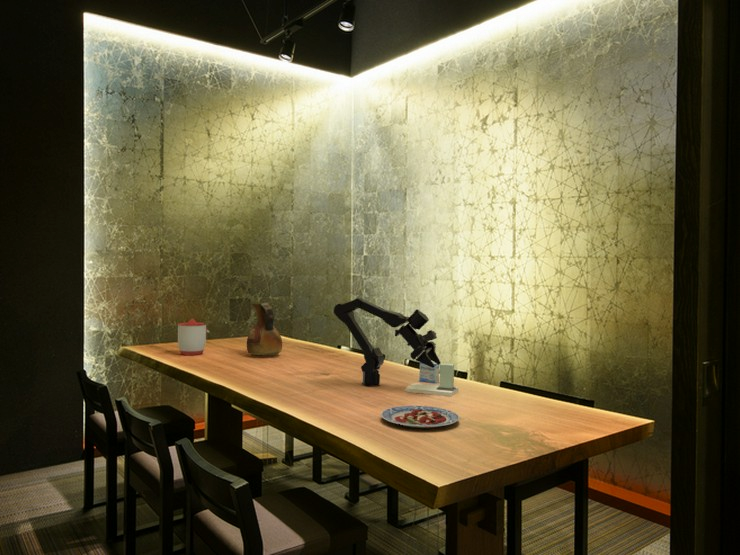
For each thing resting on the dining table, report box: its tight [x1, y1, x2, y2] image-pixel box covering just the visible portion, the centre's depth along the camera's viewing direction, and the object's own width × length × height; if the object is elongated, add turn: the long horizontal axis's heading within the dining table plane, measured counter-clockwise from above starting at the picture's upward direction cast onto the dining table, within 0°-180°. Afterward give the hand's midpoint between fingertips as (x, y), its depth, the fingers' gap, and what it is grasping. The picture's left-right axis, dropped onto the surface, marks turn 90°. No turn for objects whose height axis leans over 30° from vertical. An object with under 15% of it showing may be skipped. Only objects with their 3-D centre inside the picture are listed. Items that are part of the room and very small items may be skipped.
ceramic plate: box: [380, 405, 460, 429], centre depth 191 cm, size 26×26×3 cm
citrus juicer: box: [177, 318, 210, 356], centre depth 323 cm, size 16×17×20 cm
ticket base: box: [405, 382, 459, 397], centre depth 238 cm, size 19×12×2 cm, turn 68°
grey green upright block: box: [439, 362, 455, 389], centre depth 235 cm, size 5×4×10 cm
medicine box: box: [418, 361, 440, 384], centre depth 258 cm, size 8×4×9 cm, turn 62°
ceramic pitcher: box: [246, 302, 283, 356], centre depth 322 cm, size 20×20×30 cm
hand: (437, 365), depth 237 cm, fingers open, 9 cm apart
